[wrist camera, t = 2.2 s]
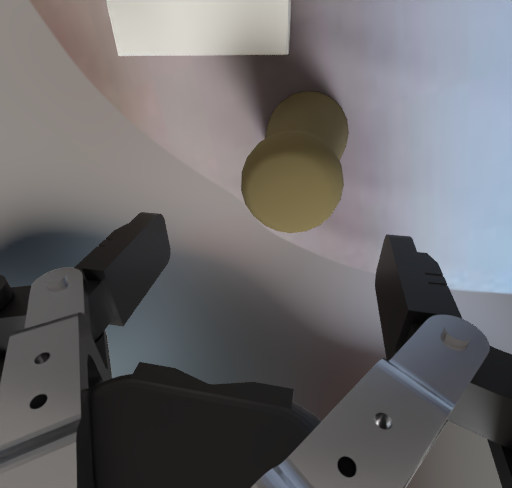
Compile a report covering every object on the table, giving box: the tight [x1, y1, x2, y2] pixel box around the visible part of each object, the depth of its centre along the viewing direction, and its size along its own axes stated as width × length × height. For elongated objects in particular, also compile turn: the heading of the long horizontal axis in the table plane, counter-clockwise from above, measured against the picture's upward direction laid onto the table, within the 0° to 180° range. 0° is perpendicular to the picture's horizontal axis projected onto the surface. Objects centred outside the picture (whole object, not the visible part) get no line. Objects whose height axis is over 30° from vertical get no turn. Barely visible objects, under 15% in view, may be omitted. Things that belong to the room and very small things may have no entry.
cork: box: [241, 91, 349, 233], centre depth 20 cm, size 6×6×11 cm
